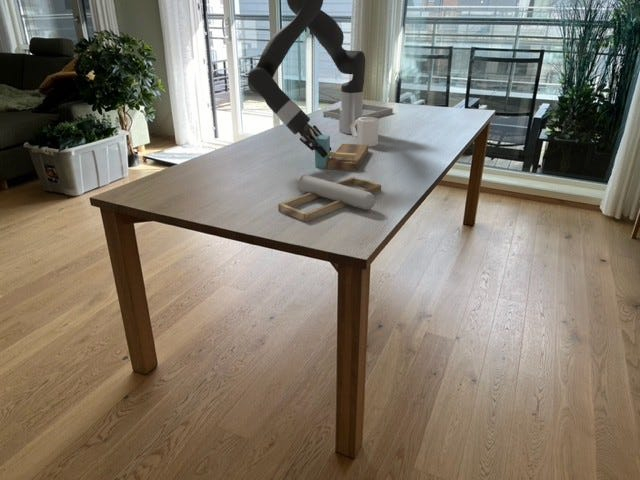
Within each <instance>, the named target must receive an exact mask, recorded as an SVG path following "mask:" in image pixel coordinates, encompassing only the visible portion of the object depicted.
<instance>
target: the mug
mask: <svg viewBox="0 0 640 480" xmlns="http://www.w3.org/2000/svg"><path fill="white" fill-rule="evenodd" d="M379 122H380V119H379V117H376V118H375V117H361V118H359V119H358V120H355V121H354V122H353V123H352V124H351V126H350V128H351V132H352V134H351V137H353V138H356V144H358V145H368V147H374V146H377V145H378V143H379V141H378V140H379ZM356 124H357V133H356V129H355V125H356Z"/></svg>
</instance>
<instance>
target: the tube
mask: <svg viewBox="0 0 640 480" xmlns="http://www.w3.org/2000/svg"><path fill="white" fill-rule="evenodd" d="M297 180H298V181H297V190H299V191H300V192H304V193H306V194H307V193H310V192H313V193H315V194H316V195H318V196H321V197H322V198H325V199H328V200H330V201H333V202H335V201H337V200H341V201H342V202H344V203H345V204H348V205H347V206H352V207H355V208H358V209H362V210H364V211H368V210H371V209H372V208H373V207H374V206H375V204H376V197H375V194H371V193H370V192H367V191H363V190H364V189H358V188H356V187H352V186H345V185H341V184H337V183H338V182H334V181H330V180H327V179H322V178H319V177H315V176H311V175H308V174H307V173H304V174H301V175H299V178H298V179H297ZM321 197H320V198H321Z"/></svg>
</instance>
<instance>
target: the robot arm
mask: <svg viewBox="0 0 640 480" xmlns="http://www.w3.org/2000/svg"><path fill="white" fill-rule="evenodd" d="M286 2H287V6H288V8H289V9H290V11H291V12H292V13H294V14H295V17H293V19H292V20H291V21H289V23H287V24H286V25H285V26H283V27H282V28H281V29H279V30H278V31H276V33H274V35H272V37H271V38H270V39H269V41H268V42H267V44H266V45H265V48H264V49H263V51H262V53H261V54H260V57H259V61H258V62H257V64H256V66H255V67H253V68H252V69H250V70H249V72H248V74H247V86H248V88H249V90H250V91H252V92H253V93H255V94H259V95H260V96H261V98H262V99H263V100H264V101H265V103H266V105H267V106H268V108H269V109H270V110H271V111H272V112H273V113H274V114H275V115H276V116H277V118H278V119H279V120H280V121H281V122H282V123H283V124H284V125H285V127H287V129H289V131H290V132H291V133H292V134H293V135H297V134H298V133H299V135H300V138H299V140H300V142H301V143H302V144H304V145H305V146H306V147H307V148H308V149H309V150H311V151H315V150H316V151H317V152H318V153H319V154H320V155H321V156H322V157H323V158H324V157H325V156H327V154H328V153H327V152H326V151H325V150H324V149H323V147H322V146H320V144H319V143H318V142H317V138H316V137H317V136H320V135H324V134H323V133H322V132H321V130H319V129H320V128H318V127H317V125H315V124H313V126H312V125H311V124H309V122H310V120H311V118H310V117H309V116H308V115H307V114H306V113H305V111H303V109H302V108H300V107H299V105H298V104H297V103H295V101H293V100H292V99H291V98H290V97H289V96H288V95H287V94H286V92H284V91H283V90H282V89H281V88H280V86H279V85H278V83H277V82H276V80H275V79H274V77H275V74H276V73H277V70H278V69H279V67H280V66H281V64H282V63H283V61H284V60H285V58H286V57H287V55H288V53H289V51H290V50H291V48H292V46H293V45H294V44H295V43H296V41H297V40H298V39H299V38H300V36H301V35H302V34H303V33H304V31H305V30H306V29H308V30H309V31H310V32H311V34H313V36H314V37H315V38H316V40H317V41H318V42H319V44H320V45H321V46H322V48H324V50H326V53H327V54H328V56H330V58H331V60H332V61H333V63H334V65H335V67H336V69H337V70H338V71H339V73H341V74H343V75H352V78H351V79H350V80H349V81H348V82H344V83H342V84H341V89H340V91H341V92H340V93H341V94H340V97H341V98H340V99H341V100H340V104H341V105H340V108H341V109H340V110H339V119H338V120H339V121H338V122H339V123H338V124H339V125H338V126H339V127H338V128H339V130H338V131H339V132H341V133H342V134H346V135H350V134H351V135H352V132H351V128H350V126H351V124H352V123H353V122H354V121H355V120H358V119H359V118H361V117H362V115H363V111H364V109H363V104H364V103H363V102H364V85H365V74H366V55H365V53H364V52H363V51H361V50H347V49H344V47H343V43H344V39H345V38H344V32H343V30H342V28H341V27H340V26H339V24H338V23H337V22H336V20H335V19H334V18H333V17H332V16H330V15H329V14H328V13H326V12H325V11H323V10H322V7H323V4H324V0H286ZM355 129H356V133H357V124H356V125H355ZM330 152H332V147H331V146H330Z"/></svg>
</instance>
